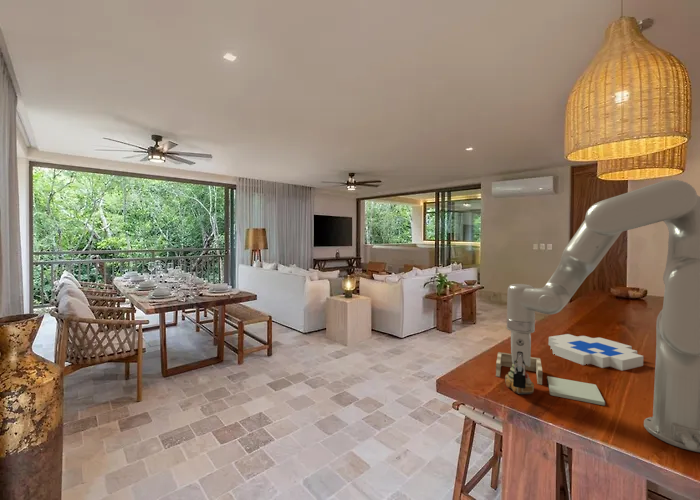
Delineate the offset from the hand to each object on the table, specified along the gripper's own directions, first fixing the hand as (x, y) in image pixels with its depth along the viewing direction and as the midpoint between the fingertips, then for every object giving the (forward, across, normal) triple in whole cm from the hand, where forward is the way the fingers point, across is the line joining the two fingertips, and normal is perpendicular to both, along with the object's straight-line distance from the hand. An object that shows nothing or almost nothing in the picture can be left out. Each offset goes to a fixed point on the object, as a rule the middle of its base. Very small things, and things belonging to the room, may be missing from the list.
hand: (519, 381), depth 100 cm
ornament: (+3, 0, 0) cm, 3 cm away
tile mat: (+3, +7, -15) cm, 17 cm away
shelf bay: (+3, +13, 0) cm, 14 cm away
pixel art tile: (+4, +47, -26) cm, 54 cm away
